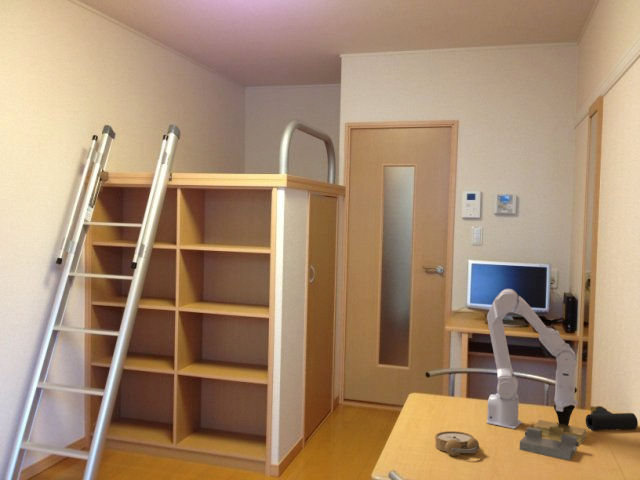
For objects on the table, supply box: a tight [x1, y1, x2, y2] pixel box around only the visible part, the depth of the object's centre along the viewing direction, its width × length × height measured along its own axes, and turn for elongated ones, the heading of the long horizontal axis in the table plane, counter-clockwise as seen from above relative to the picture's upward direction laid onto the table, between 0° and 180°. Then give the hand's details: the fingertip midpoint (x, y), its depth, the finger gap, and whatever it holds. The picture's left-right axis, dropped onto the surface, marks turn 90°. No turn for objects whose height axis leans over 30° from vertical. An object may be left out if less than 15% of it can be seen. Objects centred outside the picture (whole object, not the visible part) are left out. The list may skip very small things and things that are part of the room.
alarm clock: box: [434, 430, 480, 457], centre depth 179 cm, size 11×5×15 cm
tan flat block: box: [533, 419, 587, 445], centre depth 191 cm, size 14×9×4 cm, turn 56°
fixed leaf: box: [519, 426, 580, 462], centre depth 180 cm, size 15×9×4 cm, turn 56°
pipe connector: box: [585, 405, 639, 431], centre depth 203 cm, size 12×5×15 cm
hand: (563, 427), depth 196 cm, fingers closed
